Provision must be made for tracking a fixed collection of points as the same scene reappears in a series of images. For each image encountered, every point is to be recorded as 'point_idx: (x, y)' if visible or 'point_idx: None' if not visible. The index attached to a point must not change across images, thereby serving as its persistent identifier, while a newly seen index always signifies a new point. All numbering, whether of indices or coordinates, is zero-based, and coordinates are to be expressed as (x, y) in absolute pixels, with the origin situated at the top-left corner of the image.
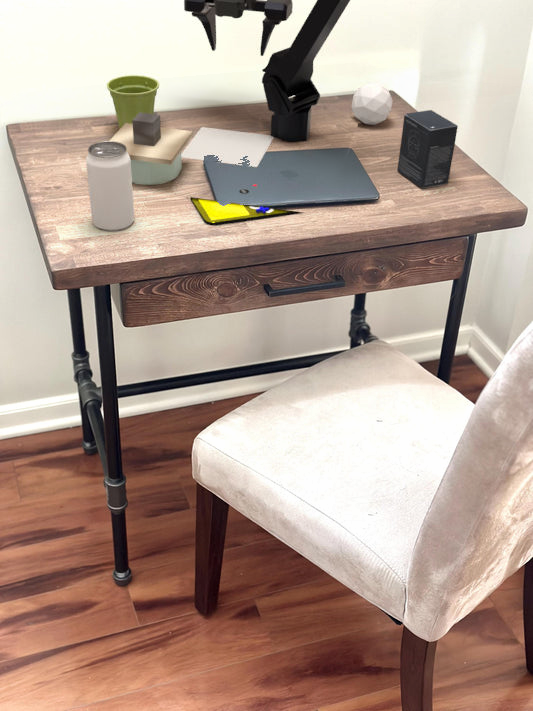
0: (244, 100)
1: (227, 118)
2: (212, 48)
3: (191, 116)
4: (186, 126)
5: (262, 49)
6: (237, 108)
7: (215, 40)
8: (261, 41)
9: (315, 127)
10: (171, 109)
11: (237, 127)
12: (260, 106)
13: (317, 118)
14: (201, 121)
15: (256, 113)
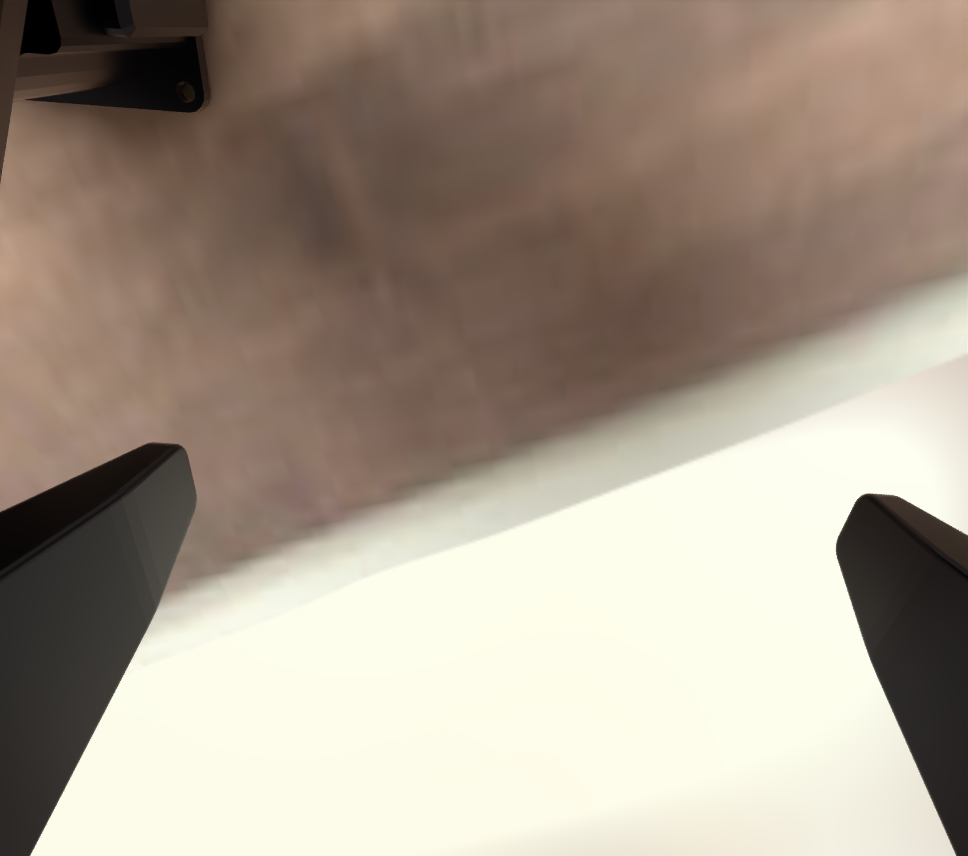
0: (518, 503)
1: (576, 253)
2: (904, 508)
3: (806, 233)
4: (852, 38)
5: (91, 483)
6: (538, 405)
7: (895, 641)
8: (4, 565)
9: (33, 237)
10: (928, 313)
11: (490, 114)
12: (423, 452)
13: (87, 366)
14: (741, 163)
15: (422, 362)
